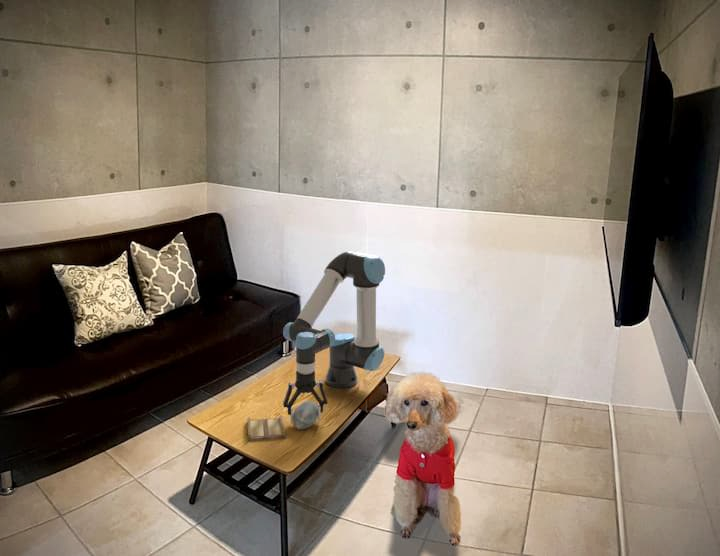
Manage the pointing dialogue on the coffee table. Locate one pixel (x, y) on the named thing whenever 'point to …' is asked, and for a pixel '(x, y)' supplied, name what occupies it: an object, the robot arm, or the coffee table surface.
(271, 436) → the shallow beige tray
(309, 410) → the grey streaked ellipsoid
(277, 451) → the coffee table surface
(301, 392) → the robot arm
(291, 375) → the coffee table surface
